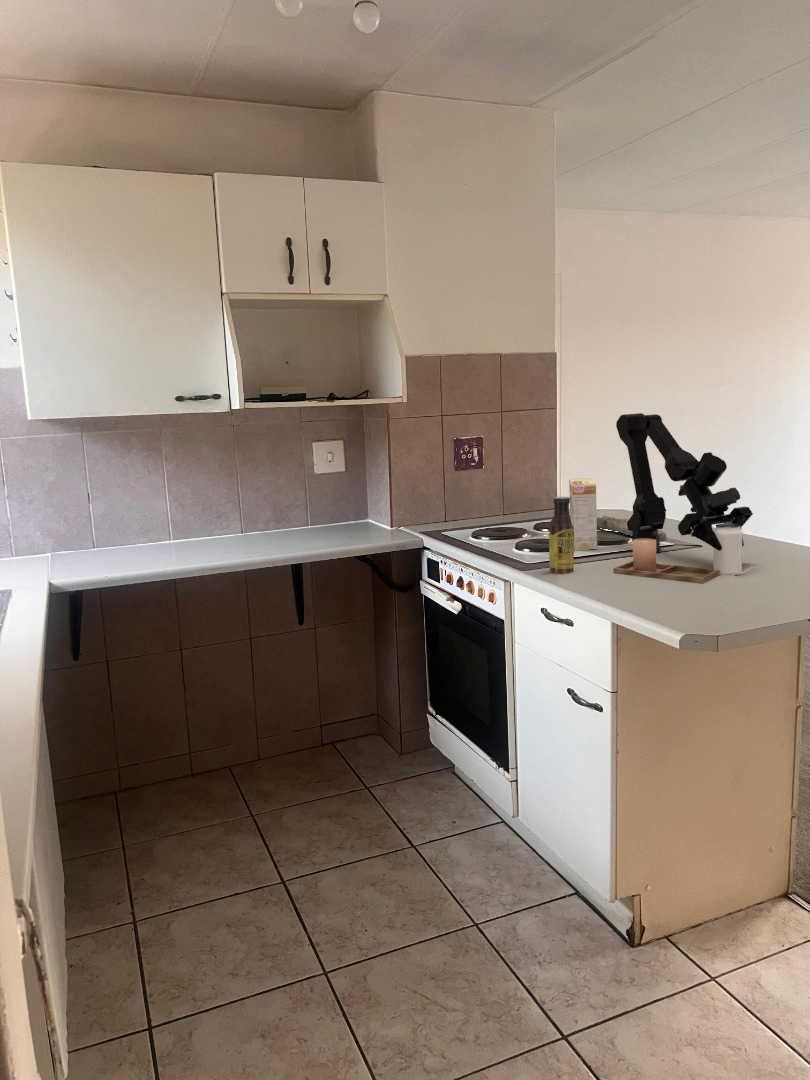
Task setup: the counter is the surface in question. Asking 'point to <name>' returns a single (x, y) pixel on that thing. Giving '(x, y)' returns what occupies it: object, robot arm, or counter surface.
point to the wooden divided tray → (671, 572)
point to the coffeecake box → (583, 513)
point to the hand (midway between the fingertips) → (731, 548)
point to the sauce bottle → (561, 538)
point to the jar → (644, 554)
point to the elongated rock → (620, 526)
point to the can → (728, 549)
